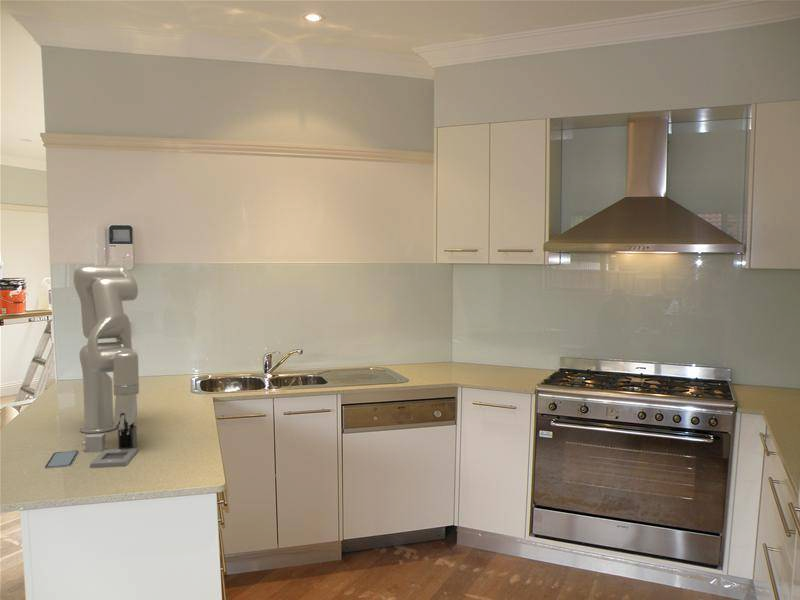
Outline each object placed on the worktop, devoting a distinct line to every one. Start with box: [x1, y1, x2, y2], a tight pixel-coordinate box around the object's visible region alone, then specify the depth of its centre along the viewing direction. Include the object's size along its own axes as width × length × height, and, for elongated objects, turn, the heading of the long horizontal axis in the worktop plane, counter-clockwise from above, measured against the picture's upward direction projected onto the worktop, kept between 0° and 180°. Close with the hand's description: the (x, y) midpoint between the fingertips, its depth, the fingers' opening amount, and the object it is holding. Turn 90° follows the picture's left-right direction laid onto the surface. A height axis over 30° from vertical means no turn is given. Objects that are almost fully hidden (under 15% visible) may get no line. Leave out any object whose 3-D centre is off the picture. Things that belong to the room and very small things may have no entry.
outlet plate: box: [89, 447, 139, 468], centre depth 192 cm, size 14×10×1 cm
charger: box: [117, 425, 138, 449], centre depth 203 cm, size 4×4×7 cm
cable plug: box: [81, 433, 106, 453], centre depth 202 cm, size 4×6×5 cm, turn 99°
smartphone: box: [44, 449, 80, 469], centre depth 192 cm, size 7×1×15 cm
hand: (127, 443), depth 203 cm, fingers closed on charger, 4 cm apart
